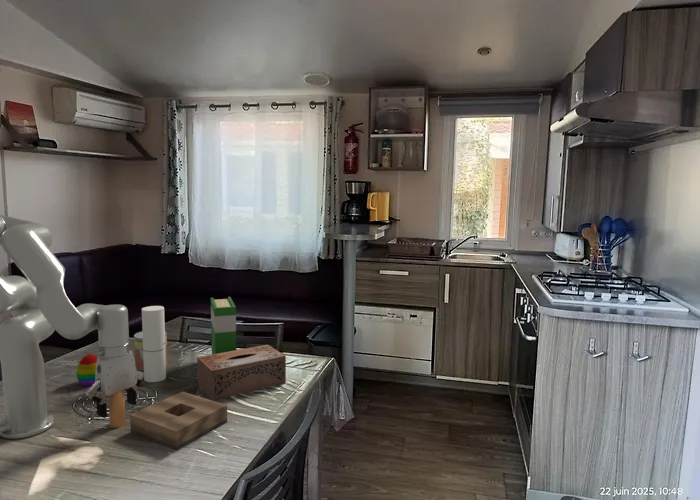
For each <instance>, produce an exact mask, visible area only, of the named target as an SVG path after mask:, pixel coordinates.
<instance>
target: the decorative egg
mask: <svg viewBox="0 0 700 500" xmlns="http://www.w3.org/2000/svg"><path fill="white" fill-rule="evenodd" d="M98 357H99V356H96V354H93V353H88V354H86V355H85V356H83V357H82V358H81V359H80V361H79V362H78V365H77V367H76V379H77V380H78V382H79V384H81V385H82V386H85V387H89V386H90V387H91V386H92V385H93V384H94V383H95V375H96V364H97V359H98Z"/></svg>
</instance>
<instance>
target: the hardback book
mask: <svg viewBox="0 0 700 500" xmlns="http://www.w3.org/2000/svg"><path fill="white" fill-rule="evenodd" d="M236 307H237V306H236V305H235V303H234V301H233V299H232V297H231V296H227V298H222V299H220V298H219V299H215V298H214V297H210V325H211V326H210V327H211V328H210V329H211V330H210V331H211V332H210V333H211V336H210V337H211V355H213V354H218V353H224V352H229V351H235V350H237V308H236Z"/></svg>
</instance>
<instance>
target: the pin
mask: <svg viewBox="0 0 700 500" xmlns="http://www.w3.org/2000/svg"><path fill="white" fill-rule="evenodd" d="M107 399H108V414H109V415H108V416H109V419H108V420H109V427H110V428H112V429H113V428H114V429H117V428H122V427H123V426H125V425H126V407H125V404H126V402H125V399H126V398H125V390H123V391H120V392H118V393H115V394H113V395H108V396H107Z"/></svg>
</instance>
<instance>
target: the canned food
mask: <svg viewBox="0 0 700 500" xmlns="http://www.w3.org/2000/svg"><path fill="white" fill-rule="evenodd" d="M133 338H134V359H135V364H136V370H137V371H144V359H143V331H142V330H141V331H138V332H136V333H135V334H134V335H133ZM167 341H168V337H167V331H166V330H165V353H166V366H167V365H168V348H167V346H168V343H167Z"/></svg>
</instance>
